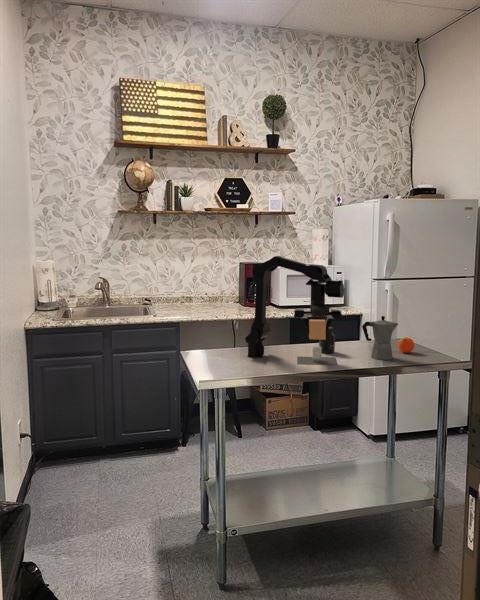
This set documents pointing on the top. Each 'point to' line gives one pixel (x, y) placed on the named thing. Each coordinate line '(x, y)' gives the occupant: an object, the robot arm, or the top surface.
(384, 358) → the coffeepot
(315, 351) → the gray rectangular block
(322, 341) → the supplement bottle
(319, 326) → the rounded wooden cube
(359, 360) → the top surface
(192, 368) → the top surface
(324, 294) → the robot arm
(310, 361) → the dark gray mat
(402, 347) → the clementine
